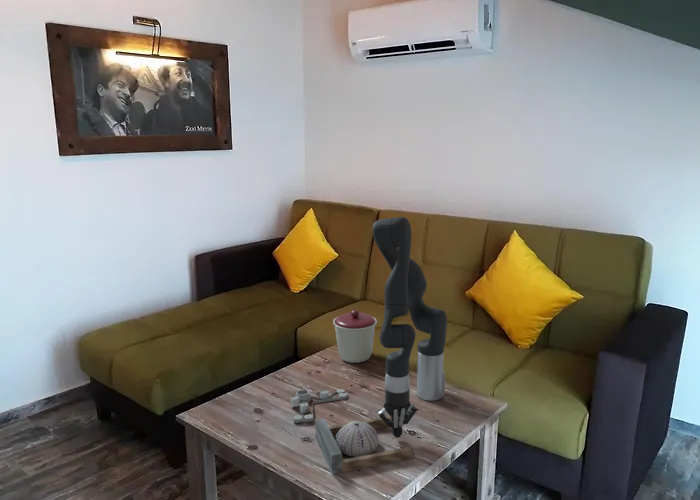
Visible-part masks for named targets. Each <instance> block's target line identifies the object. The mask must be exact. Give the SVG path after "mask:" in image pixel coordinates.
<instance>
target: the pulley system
mask: <svg viewBox="0 0 700 500" xmlns="http://www.w3.org/2000/svg"><path fill="white" fill-rule="evenodd" d="M310 393H311V391H310V390H309V389H299V390H297V391H296V393H295V395H293V396H291V397H290V398H289V399H290V406H291V407H295V408H297V407H299V412H300V413H299V414H297V415H294V416H293V417H292V420H293V422H295V423H297V424H298V423H306V422H307V423H308V422H312V421H314V414H311V413H309V411H310V407H309V403H310V402H311V400H312V399H315V400H314V401H312V409H314V405H315V404H321V403H327V402H333V401H340V400H341V401H342V400H346V399H348V393H347V392H346V390H345V389H343V388H339V389H336V391H334V392H333V393H331V394H330V391H329V390H326V389H324V390H321V391H320V392H319V396H313V395H311V394H310ZM335 394H337V395H338V397H334V398H332V397H333V396H334V395H335ZM320 399H321V400H320ZM307 413H309V414H307ZM303 415H304V416H303Z"/></svg>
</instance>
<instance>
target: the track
mask: <svg viewBox="0 0 700 500" xmlns="http://www.w3.org/2000/svg"><path fill="white" fill-rule="evenodd" d="M386 417H387V418H388V419H389V420H390V421H391V416H390V415H388V416H387V415H386ZM358 421H359V422H363V423H367V424H369V425H371V426H372V427H373V428H374V429H375V430H378V429H385V428H390V427H389V426H388V425H387V424H386V423H385V422H384V421H383V420H382V419H381V418H380V417H375V418H370V419H369V418H368V419H365V420H363V419H362V420H358ZM314 423H315V424H314V427H315V428H314V429H315V430H314V431H315V433H314V434H315V439H316V441H317V444H318V446H319V448H320V451H321V452H322V455H323V457H324V459H325V461H326V464H327V466H328V469H329V470H330V473H331V475H335V474H341V473H346V472H347V473H348V472H352V471H356V470H361V469H366V468H371V467H375V466H382V465H385V464H390V463H396V462H401V461H406V460H412V459H414V449H413V447H412V446H408V447H401V448H397V449H392V450H388V451H387V450H386V451H381V452H376V453H371V454H368V455H365V456H360V457H354V456H353V457H351V458H344V459H343V454H342V453H343V452H341V451H340V449H339V447H338V445H337V443H336V440H335V439H336V434H337V433H338V432H339V430H340V429H341V428H342V427H344V426H345V425H347V424H348V423H349V422H346V423H340V424H335V425H328V423H327V421H326V420H325V418H319V419H315V420H314Z"/></svg>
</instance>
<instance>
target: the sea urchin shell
mask: <svg viewBox="0 0 700 500" xmlns="http://www.w3.org/2000/svg"><path fill="white" fill-rule="evenodd" d="M359 421H360V420H353V421H349V422H347V423H348V424H347V425H345V426H344V427H342V428H341V429H340V430H339V432H338V433H337V434H336V436H335V438H334V439H335V441H336V443H337V445H338V447H339V449H340V451H341V453H343V455H346V456H349V457H353V458H354V457H360V456H365V455H370V454H373V453H374V451H376V449H377V447H378V445H379V441H380V439H379V434H378V433H377V431H376V429H374V428H373V427H372V426H371V425H369V424H367V423H363V422H359Z"/></svg>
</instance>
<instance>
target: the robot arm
mask: <svg viewBox="0 0 700 500" xmlns="http://www.w3.org/2000/svg"><path fill="white" fill-rule="evenodd" d="M372 237H373V240H374V242H375V244H376V246H377V248H378V249H379V251H380V253H381V255H382V256H383V258H384V260H385V261H386V262H387V265H388V266H389V268H390V271H391V272H390V274H389V276H388V278H387V279H386V282H385V286H384V295H383V296H384V316H383V322H382V326H381V329H380V334H379V342H380V344H381V346H382V347H383V348H385V349H399V350H395V351H392V352H390V353H388V354H387V355H386V358H385V377H384V405H383V408H382V409H381V410H379V409H378V410H377V412H376V413H377V415H378V416H379V418H381V419H382V420H383V421H384V422H385V423H386V424H387V425H388V426H389V427H388V428H391V433H392V435H393V436H394V438H397V439H399V438H401V436H402V435H403V426H404V425H407V424H409V422H410V421H411V420H412V418H413V417H414V415H415V414H416V413H417V412H418V409H417V407H416V406H415V405H414V404H412V403H411V401H410V394H411V393H410V390H411V389H410V386H411V381H410V380H411V379H410V357H411V353H412V350H413V347H414V344H415V342H416V341H415V340H416V331H415V329H416V330H417V331H419V332H422V333H426V334H429V336H430V338H425V339H422V340H420V341H419V342H418V344H417V362H416V363H417V365H416V366H417V367H416V370H417V371H416V396H417V397H418V398H419V399H421V400H423V401H429V402H431V401H432V402H434V401H438V400H440V399H442V398H443V397H445V393H446V372H445V370H444V355H445V352H444V351H445V350H444V349H445V345H446V338H447V326H448V317H447V313H446V311H445V310H443V309H439V308H437V307H432V306H428V305H426V303H425V302H424V299H423V297H424V295H425V293H426V290H427V284H428V283H427V280H426V277H425V274H424V271H423V270H422V267H421V266H420V264H418V263H417V262H416V261H415V260H414V259H413V258H411V250H412V249H411V248H412V226H411V223H410V221H409V220H408V218H407V217H404V216H397V217H389V218H383V219H381V218H380V219H378V220H375V222H374V223H373V226H372ZM408 313H409V315H410V318H411V321H412V323H413V326H414V327H413V326H412V325H411V324H408V323H405V324H404V323H399V324H398V323H397V324H392V322H393V320H394V319H396V318H399V317H404V316H407V315H408ZM387 413H388V416H390V418H391V421H390V420H389V419H388V418H387V417H386V416H387Z"/></svg>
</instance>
